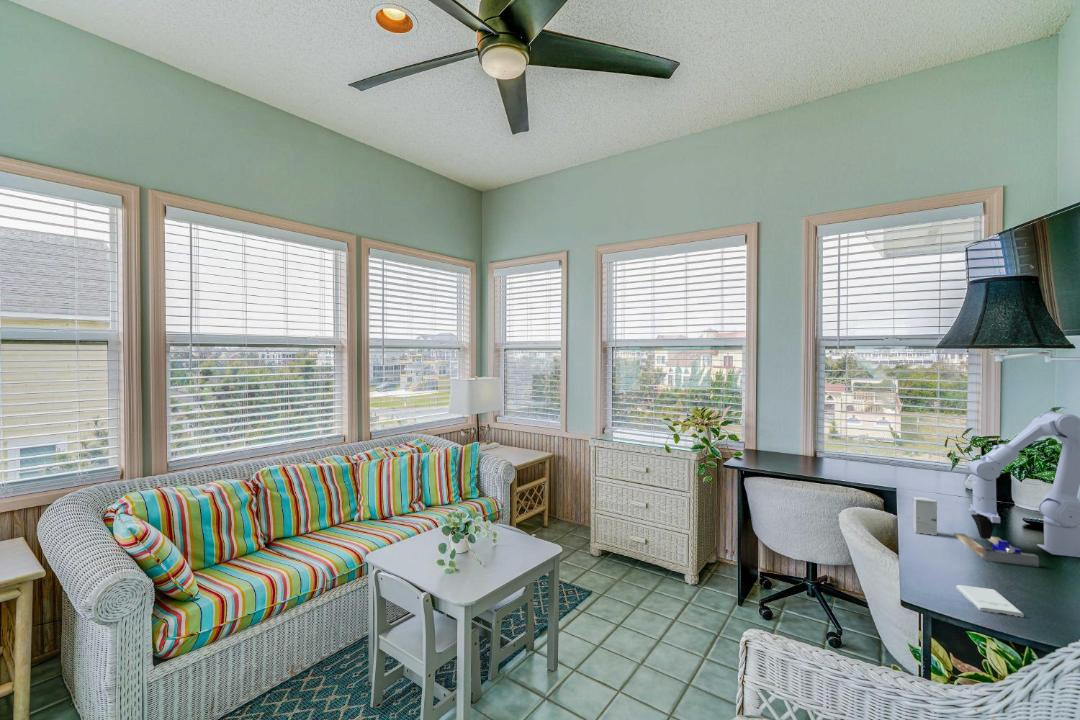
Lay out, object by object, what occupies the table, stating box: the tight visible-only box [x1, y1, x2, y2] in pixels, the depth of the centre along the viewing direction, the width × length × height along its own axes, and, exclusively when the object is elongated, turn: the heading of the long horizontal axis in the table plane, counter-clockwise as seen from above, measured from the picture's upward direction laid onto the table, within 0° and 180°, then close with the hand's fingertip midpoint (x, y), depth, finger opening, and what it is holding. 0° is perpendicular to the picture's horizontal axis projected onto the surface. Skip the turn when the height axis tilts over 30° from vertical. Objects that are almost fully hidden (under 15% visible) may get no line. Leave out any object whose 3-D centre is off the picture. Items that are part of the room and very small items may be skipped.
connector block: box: [982, 547, 1040, 568], centre depth 142 cm, size 12×2×4 cm, turn 68°
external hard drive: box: [956, 584, 1025, 618], centre depth 119 cm, size 2×8×12 cm
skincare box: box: [913, 496, 938, 536], centre depth 167 cm, size 6×4×12 cm
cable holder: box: [991, 539, 1022, 553], centre depth 146 cm, size 8×4×4 cm, turn 158°
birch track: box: [953, 532, 1023, 559], centre depth 152 cm, size 12×21×1 cm, turn 158°
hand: (985, 538), depth 156 cm, fingers closed
